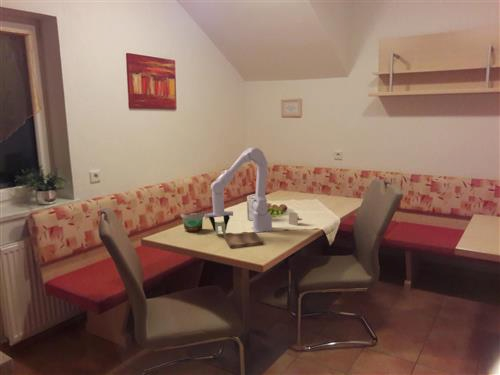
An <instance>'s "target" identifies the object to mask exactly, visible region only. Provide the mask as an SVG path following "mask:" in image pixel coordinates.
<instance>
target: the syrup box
mask: <svg viewBox="0 0 500 375" xmlns="http://www.w3.org/2000/svg"><path fill="white" fill-rule="evenodd" d="M255 194H256V193H253V194H250V195H247V196H246V201H247V202H246V203H247V204H246V205H247V206H246V207H247V208H246V210H247V221H251V222H253V212H254V210H253V209H252V202H253V200H254V196H255Z"/></svg>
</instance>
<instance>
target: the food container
mask: <svg viewBox="0 0 500 375" xmlns="http://www.w3.org/2000/svg"><path fill="white" fill-rule="evenodd" d="M204 217H205V213H204V211H202V212H191V213H187V214H185V213H181V216H180V218H182V223H183V228H184V232H186V233H188V234H189V233H190V234H191V233H195V234H196V233H199V232H202V231H203V221H204V220H203V218H204Z"/></svg>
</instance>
